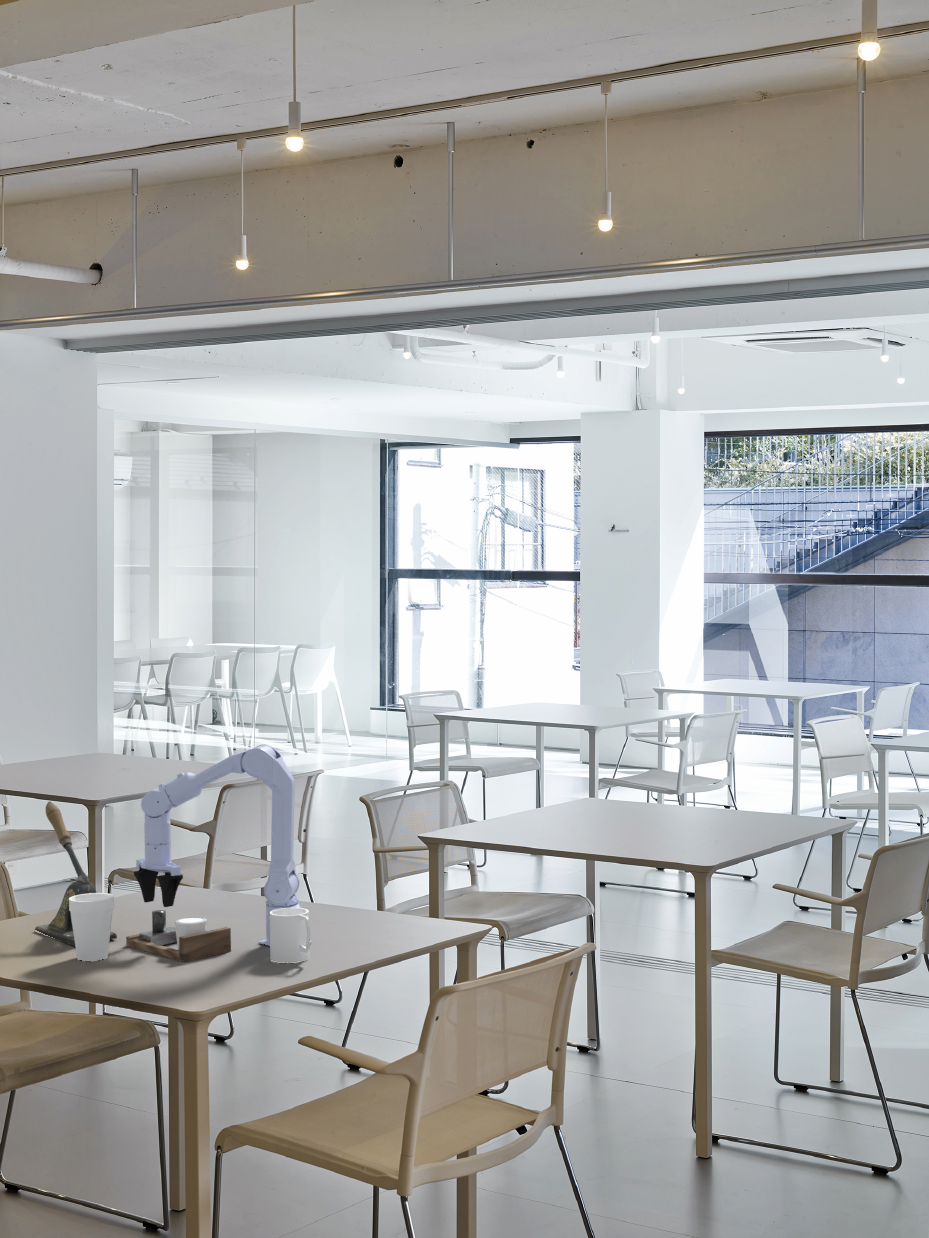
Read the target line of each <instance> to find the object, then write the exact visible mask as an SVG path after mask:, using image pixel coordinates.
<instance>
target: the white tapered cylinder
mask: <svg viewBox="0 0 929 1238" xmlns="http://www.w3.org/2000/svg"><path fill="white" fill-rule="evenodd" d="M207 922H208V919H207V918H205V917H200V916H199V917H198V916H195V917H193V916H191V917H183V918H178V919H176V920H175V921H174V926H175V927H174V928H176V938H177V942H176V944H177V950H179V937H182V936H186V935H191V934H196V933H201V932H205V931H207V926H208V925H207Z"/></svg>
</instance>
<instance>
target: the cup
mask: <svg viewBox="0 0 929 1238" xmlns="http://www.w3.org/2000/svg"><path fill="white" fill-rule="evenodd" d="M309 913H310V911H309V909H307V908H304V909H303V907H302V908H281V909H276V910H272V911H270V946H269V952H270V953H269V954H270V955H269V956H270V957H269V959H271V960H273V961H277V962H281V963H282V962H285V963H287V962H288V963H291V962H297V961H302V960H306V959H308V958H309V959H310V949H311V948H310V947H311V943H310V941H311V935H312V934H311V925H310V917H309ZM271 960H270V961H271Z"/></svg>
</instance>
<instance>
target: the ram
mask: <svg viewBox="0 0 929 1238" xmlns="http://www.w3.org/2000/svg"><path fill="white" fill-rule="evenodd" d="M151 921H152V922H151V923H152V924H151V927H152V928H151V929H152V930H149V931H146V932H145V931H144V932H140V933H138V934H139V937H140V940H143V941H147V942H150V943H154V944H158V945H161V946H164V945H167V944H173V943H177V938H176V928H175V927H174V928H172V926H169V927H167V911H166V910H164V909H157V910H152V912H151Z"/></svg>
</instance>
